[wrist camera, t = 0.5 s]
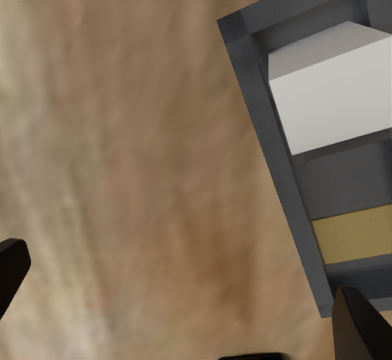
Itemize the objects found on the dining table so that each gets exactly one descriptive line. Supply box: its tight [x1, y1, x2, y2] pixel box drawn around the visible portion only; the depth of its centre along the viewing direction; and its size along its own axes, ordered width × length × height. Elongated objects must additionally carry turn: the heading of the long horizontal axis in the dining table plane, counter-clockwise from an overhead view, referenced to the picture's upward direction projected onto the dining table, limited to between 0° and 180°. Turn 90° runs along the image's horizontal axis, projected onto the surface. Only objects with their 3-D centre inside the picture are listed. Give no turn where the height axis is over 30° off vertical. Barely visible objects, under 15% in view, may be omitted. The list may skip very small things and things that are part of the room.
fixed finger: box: [269, 21, 392, 161], centre depth 15 cm, size 4×4×7 cm
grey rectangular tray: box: [217, 0, 392, 318], centre depth 20 cm, size 21×8×3 cm, turn 23°
